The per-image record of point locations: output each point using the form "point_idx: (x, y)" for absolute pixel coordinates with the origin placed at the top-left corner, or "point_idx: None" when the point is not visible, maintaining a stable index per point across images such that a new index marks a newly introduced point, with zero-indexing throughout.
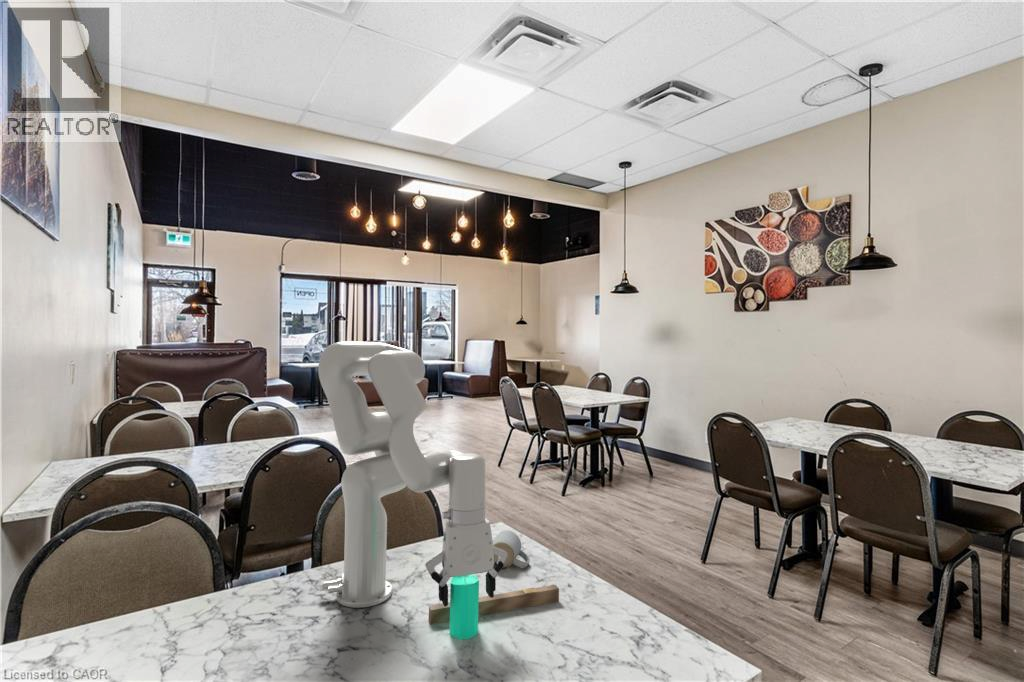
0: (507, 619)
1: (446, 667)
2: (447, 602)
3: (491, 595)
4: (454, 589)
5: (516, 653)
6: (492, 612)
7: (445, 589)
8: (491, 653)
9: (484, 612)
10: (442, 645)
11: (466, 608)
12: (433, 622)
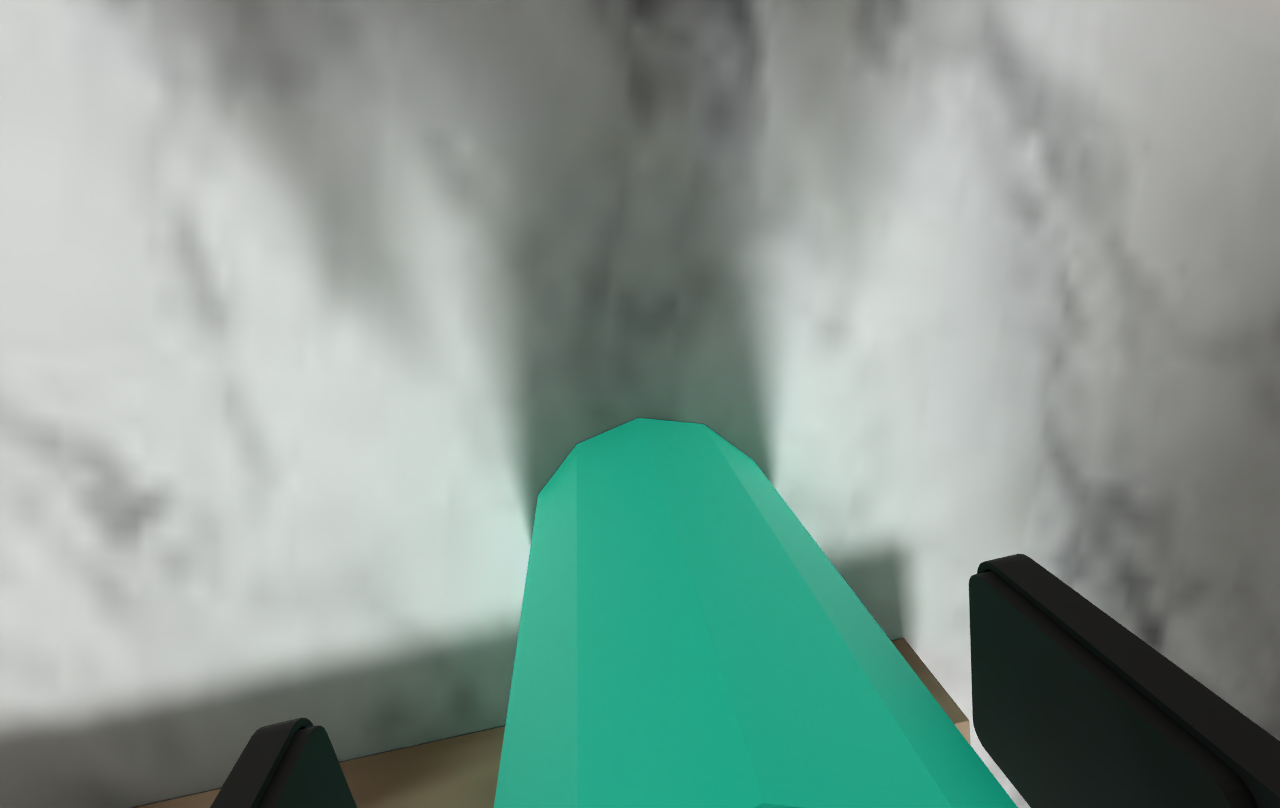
0: (259, 662)
1: (862, 19)
2: (1006, 592)
3: (283, 738)
4: (994, 787)
5: (185, 124)
6: (388, 756)
7: (1249, 736)
8: (437, 166)
9: (458, 751)
10: (851, 353)
11: (696, 538)
12: None
